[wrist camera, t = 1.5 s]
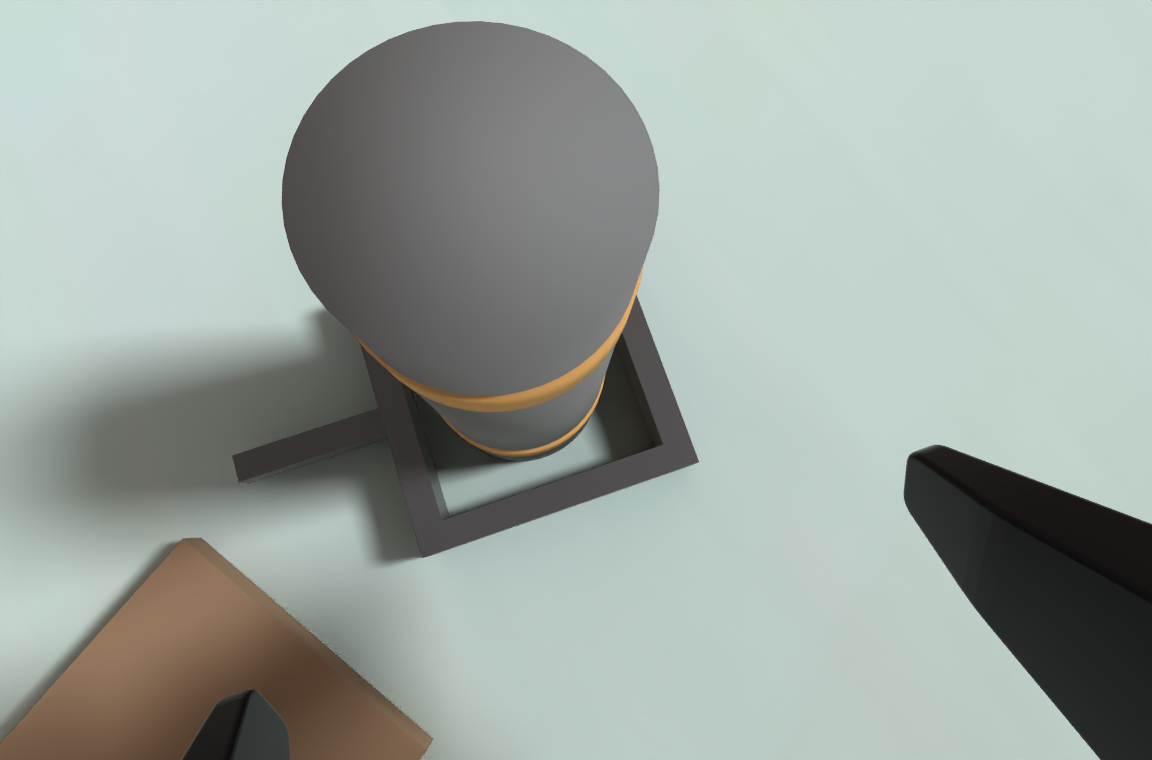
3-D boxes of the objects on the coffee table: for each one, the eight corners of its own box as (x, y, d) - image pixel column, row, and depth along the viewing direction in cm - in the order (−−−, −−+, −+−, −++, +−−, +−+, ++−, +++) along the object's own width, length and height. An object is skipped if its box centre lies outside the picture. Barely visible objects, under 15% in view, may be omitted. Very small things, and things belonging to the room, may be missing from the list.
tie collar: (688, 466, 21) (699, 461, 19) (287, 605, 20) (264, 612, 18) (601, 230, 23) (604, 209, 21) (222, 347, 21) (196, 333, 20)
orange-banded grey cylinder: (629, 372, 22) (737, 159, 9) (533, 495, 21) (498, 454, 8) (510, 280, 22) (449, -45, 9) (410, 396, 21) (195, 211, 8)
